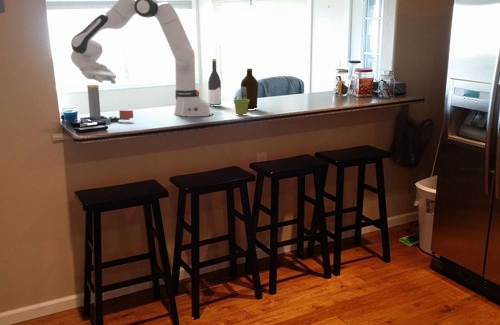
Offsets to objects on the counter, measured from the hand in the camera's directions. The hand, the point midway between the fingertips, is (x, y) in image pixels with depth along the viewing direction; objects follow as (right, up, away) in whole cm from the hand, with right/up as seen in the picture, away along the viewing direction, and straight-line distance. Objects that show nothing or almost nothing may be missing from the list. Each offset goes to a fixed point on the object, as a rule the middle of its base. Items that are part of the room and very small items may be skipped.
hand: (108, 82), depth 269 cm
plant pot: (+73, -17, +15) cm, 76 cm away
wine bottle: (+55, -7, +51) cm, 75 cm away
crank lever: (+9, -21, -8) cm, 25 cm away
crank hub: (+5, -22, -8) cm, 24 cm away
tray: (-3, -23, -12) cm, 27 cm away
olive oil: (+77, -12, +35) cm, 86 cm away
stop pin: (-3, -23, -12) cm, 26 cm away
